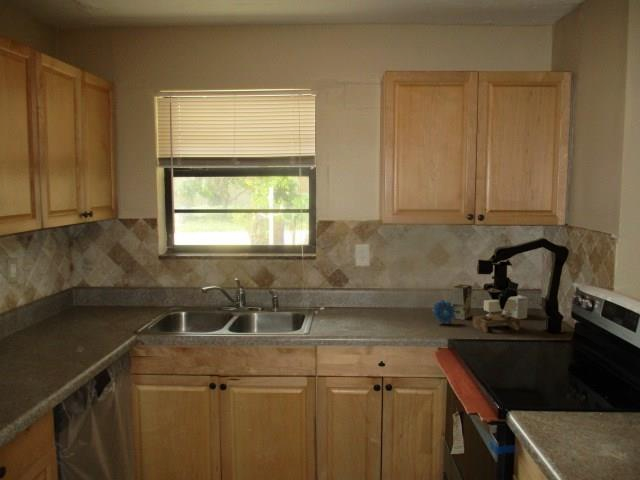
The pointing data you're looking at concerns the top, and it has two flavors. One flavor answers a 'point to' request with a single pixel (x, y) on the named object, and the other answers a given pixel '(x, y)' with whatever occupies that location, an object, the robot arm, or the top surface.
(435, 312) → the grapes
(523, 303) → the light bulb box
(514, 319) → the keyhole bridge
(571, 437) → the top surface
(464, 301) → the coffee box
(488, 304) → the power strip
